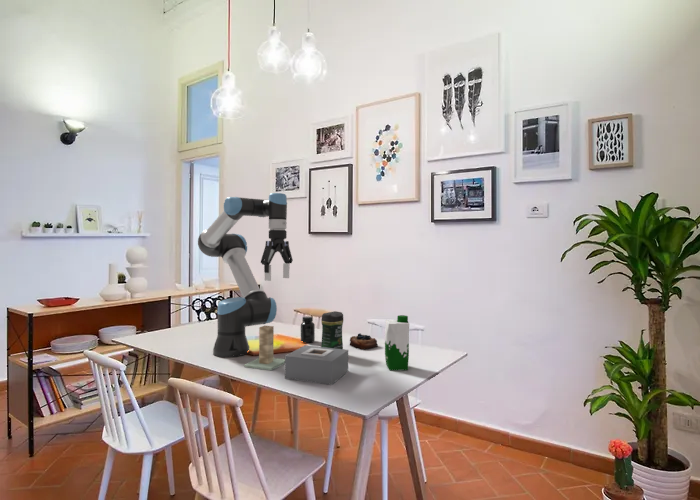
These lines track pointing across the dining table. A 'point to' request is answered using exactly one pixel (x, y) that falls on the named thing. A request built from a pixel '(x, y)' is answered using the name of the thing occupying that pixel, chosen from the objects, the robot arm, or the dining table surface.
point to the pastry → (363, 342)
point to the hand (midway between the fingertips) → (277, 279)
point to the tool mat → (269, 366)
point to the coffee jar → (332, 330)
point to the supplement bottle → (308, 330)
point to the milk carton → (397, 343)
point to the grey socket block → (316, 364)
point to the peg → (266, 344)
